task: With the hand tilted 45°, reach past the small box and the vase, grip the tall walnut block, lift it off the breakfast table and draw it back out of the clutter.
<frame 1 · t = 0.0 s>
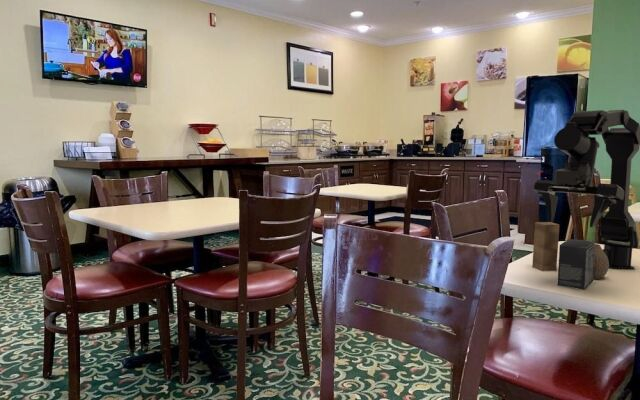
hand: (570, 224, 111), 15 cm above the table, tool pointing down, fingers open, 9 cm apart
small box: (574, 284, 117), on the table
vase: (592, 277, 123), on the table
walnut block: (544, 268, 131), on the table
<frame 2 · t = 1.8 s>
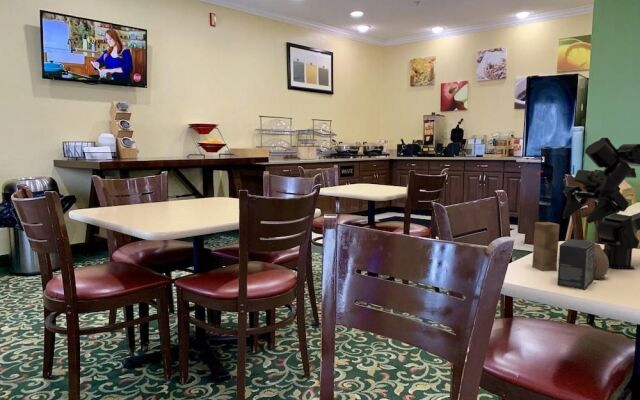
hand: (575, 219, 131), 14 cm above the table, tool tilted 45°, fingers open, 9 cm apart
nothing on the table moved.
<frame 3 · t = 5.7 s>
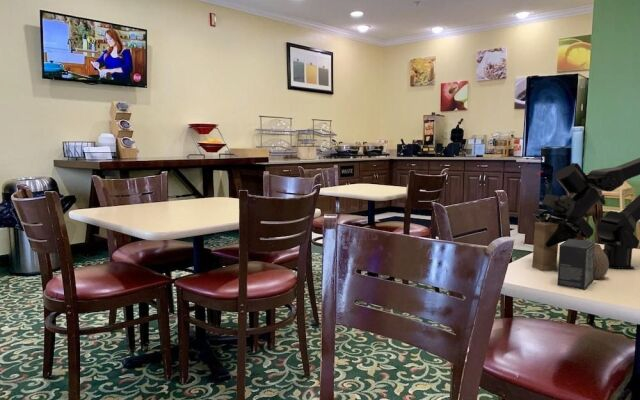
hand: (541, 244, 130), 7 cm above the table, tool tilted 45°, fingers closed on walnut block, 4 cm apart
walnut block: (544, 268, 131), on the table, touching gripper
everything else where it was.
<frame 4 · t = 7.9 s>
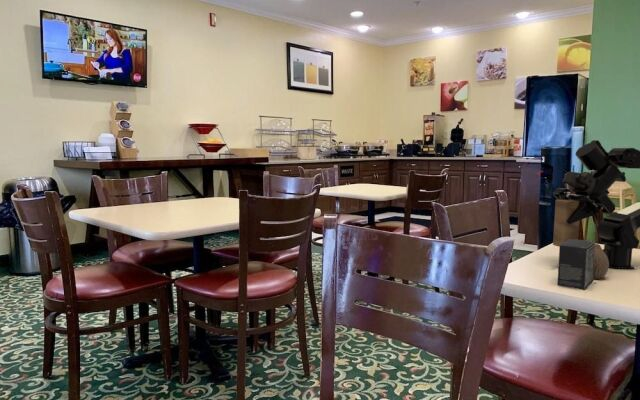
hand: (562, 221, 131), 13 cm above the table, tool tilted 45°, fingers closed on walnut block, 4 cm apart
walnut block: (565, 246, 132), point 6 cm above the table, touching gripper
everything else where it was.
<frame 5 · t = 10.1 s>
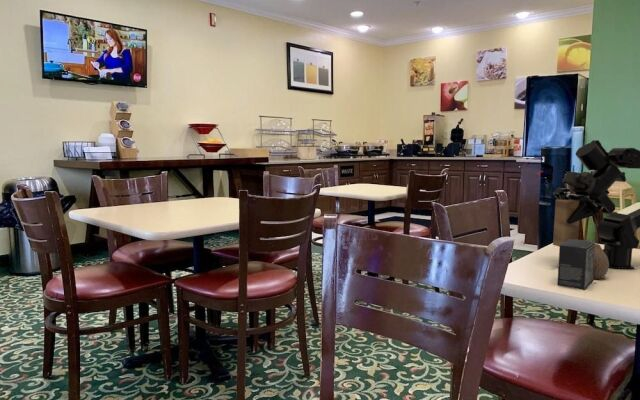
hand: (562, 221, 131), 13 cm above the table, tool tilted 45°, fingers closed on walnut block, 4 cm apart
walnut block: (564, 246, 132), point 6 cm above the table, touching gripper
everything else where it was.
at the end: the gripper is holding walnut block; walnut block point 6.4 cm above the table; walnut block touching gripper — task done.
